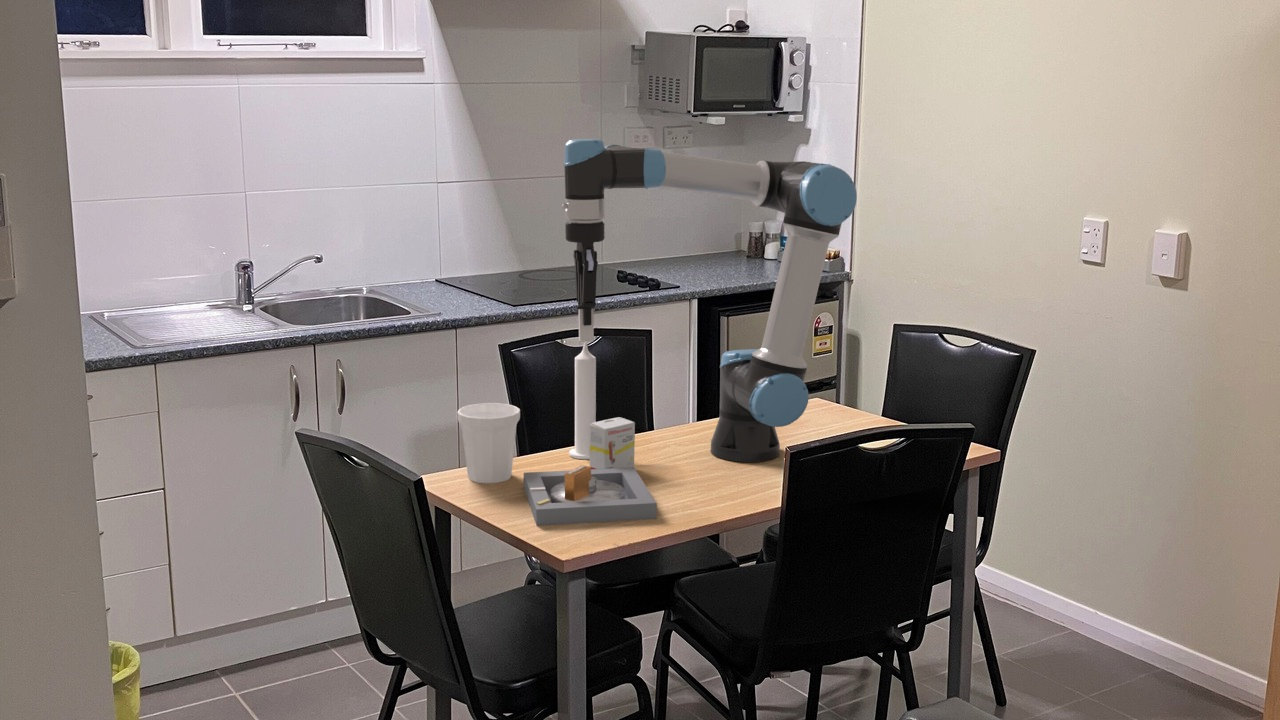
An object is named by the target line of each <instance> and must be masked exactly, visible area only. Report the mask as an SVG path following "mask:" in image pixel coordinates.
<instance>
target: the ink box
mask: <svg viewBox="0 0 1280 720" xmlns="http://www.w3.org/2000/svg"><path fill="white" fill-rule="evenodd" d="M635 425H636V423H635V421H632V420H630V419H626V418H625V417H624V418H623V417H620V416H618V417H613V418H608V419H603V420H599V421H596V422H594V423H592V424H591V425H590V459H589V467H591V469H611V468H632V467H634V468H635V444H636V443H635V441H636V440H635V439H636V436H635V434H636V433H635V432H636V430H635V428H636V427H635Z"/></svg>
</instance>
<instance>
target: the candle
mask: <svg viewBox="0 0 1280 720" xmlns="http://www.w3.org/2000/svg"><path fill="white" fill-rule="evenodd" d="M596 381H597V358H596V356H594V355H593V354H592V353H591V352H590V351H589V348H588V344H587V342H584V343H583V347H582V350H581V351H580V353H578V355H576V356H575V357H574V448H571V449H570V450H569V451H568V455H569V456H570V457H571V458H573V459H577V460H590V425H591V424H592V423H594V422H597V421H596V420H597V418H596V417H597V416H596V412H597V402H596V400H597V397H596V396H597V393H596V392H597V391H596V390H597V386H596V385H597V382H596Z"/></svg>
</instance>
